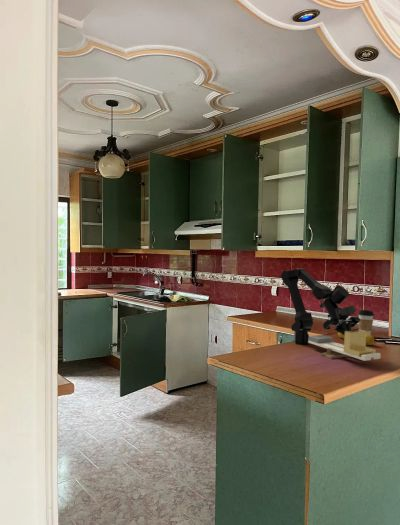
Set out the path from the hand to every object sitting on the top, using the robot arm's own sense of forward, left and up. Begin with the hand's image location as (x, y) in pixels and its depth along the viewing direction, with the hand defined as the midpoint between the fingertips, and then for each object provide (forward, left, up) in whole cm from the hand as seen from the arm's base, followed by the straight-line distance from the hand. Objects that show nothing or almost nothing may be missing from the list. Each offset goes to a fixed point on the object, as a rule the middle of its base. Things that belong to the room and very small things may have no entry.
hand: (351, 339), depth 168 cm
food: (+15, +36, -9) cm, 40 cm away
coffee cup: (+26, +51, -9) cm, 58 cm away
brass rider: (+2, -4, -5) cm, 7 cm away
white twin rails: (-2, +4, -6) cm, 8 cm away
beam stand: (-3, +6, -9) cm, 11 cm away
